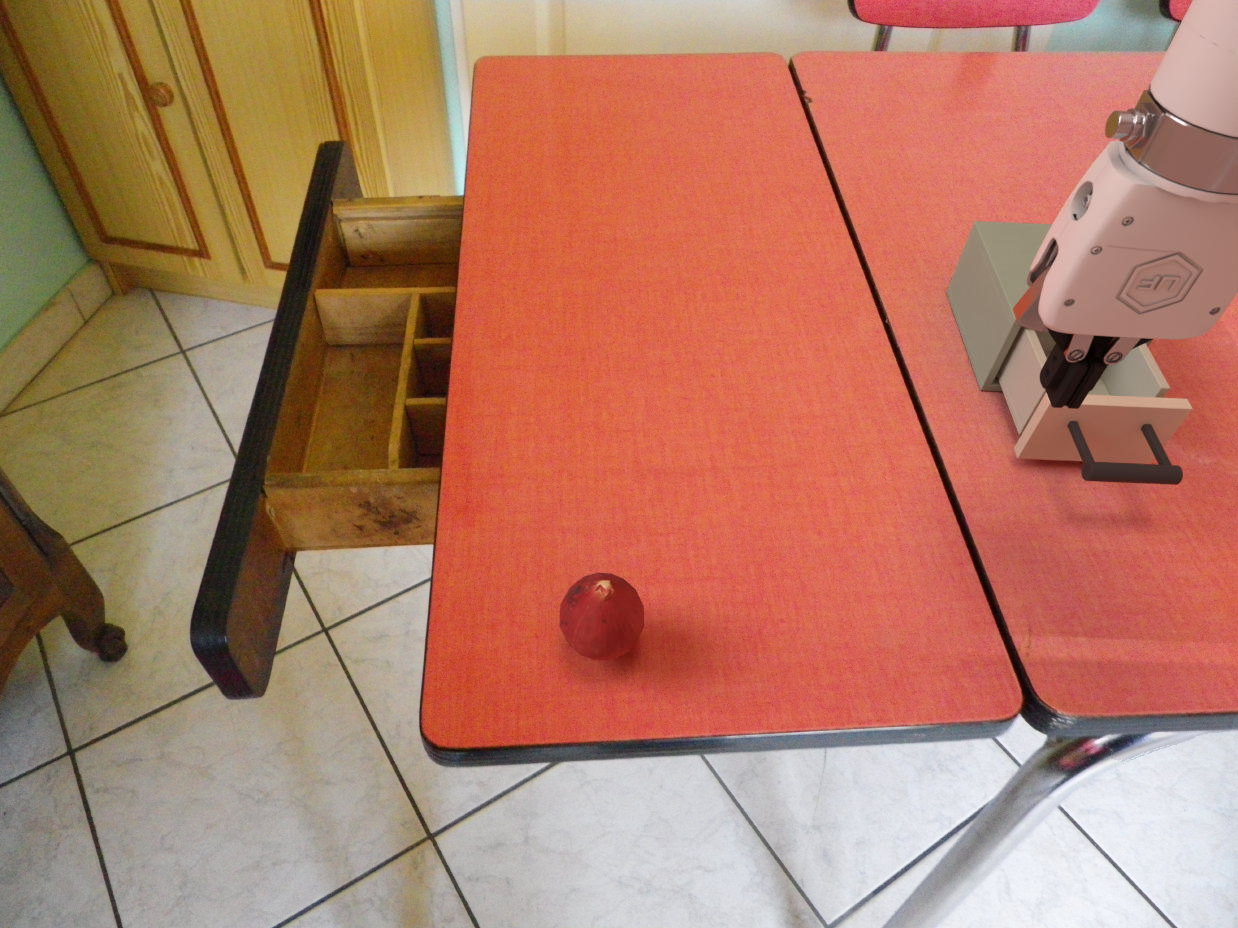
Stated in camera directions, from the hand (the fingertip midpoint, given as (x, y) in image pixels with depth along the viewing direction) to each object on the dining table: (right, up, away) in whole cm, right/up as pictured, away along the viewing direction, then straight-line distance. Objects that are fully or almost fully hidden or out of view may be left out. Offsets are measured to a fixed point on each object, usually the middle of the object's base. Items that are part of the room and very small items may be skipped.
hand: (1058, 393), depth 57 cm
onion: (-31, -18, +4) cm, 36 cm away
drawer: (+10, -2, +17) cm, 20 cm away
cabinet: (+10, +7, +26) cm, 29 cm away
